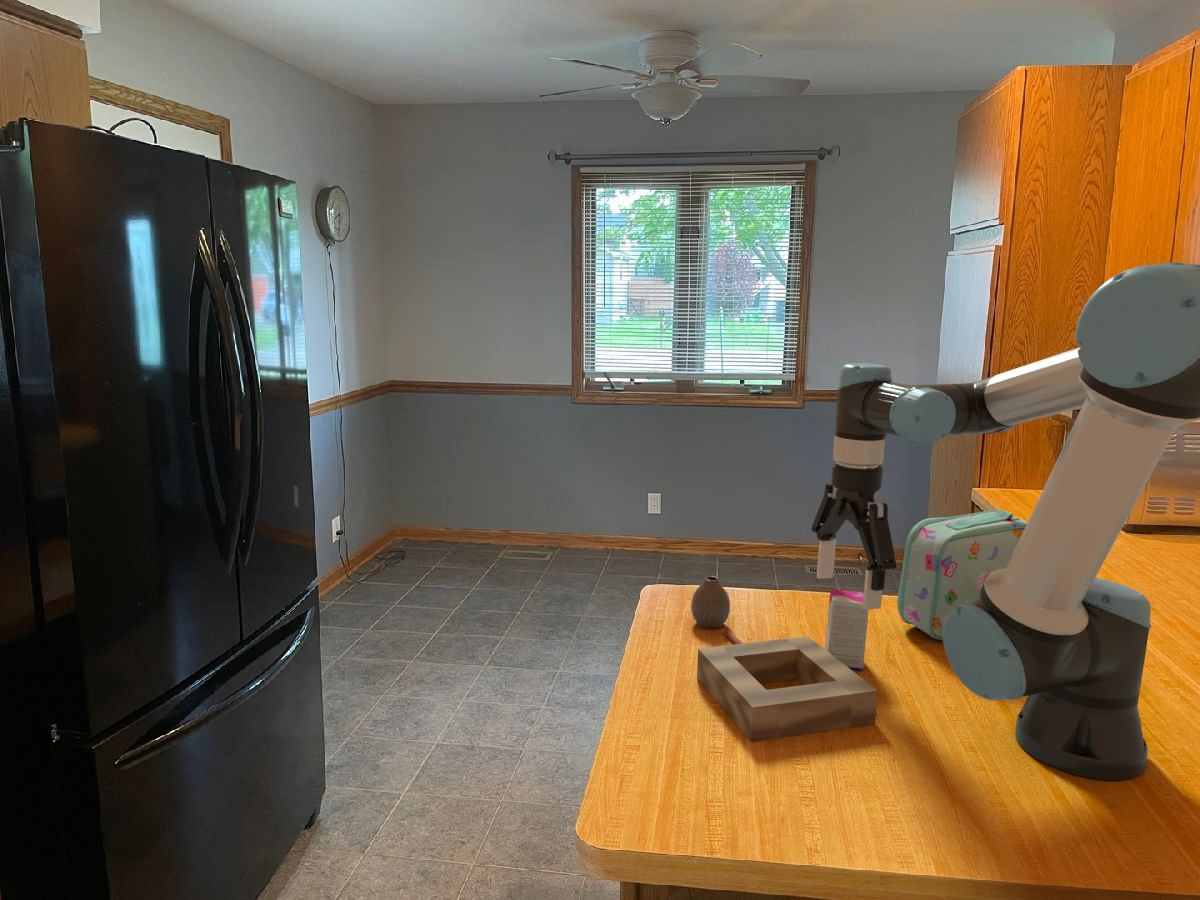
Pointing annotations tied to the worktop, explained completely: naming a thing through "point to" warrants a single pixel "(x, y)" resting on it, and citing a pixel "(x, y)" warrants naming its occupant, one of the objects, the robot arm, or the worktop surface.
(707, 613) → the vase
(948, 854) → the worktop surface
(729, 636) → the reddish-brown thin rod
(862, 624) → the supplement box
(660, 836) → the worktop surface
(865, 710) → the brown wooden square frame
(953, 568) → the lunch box
